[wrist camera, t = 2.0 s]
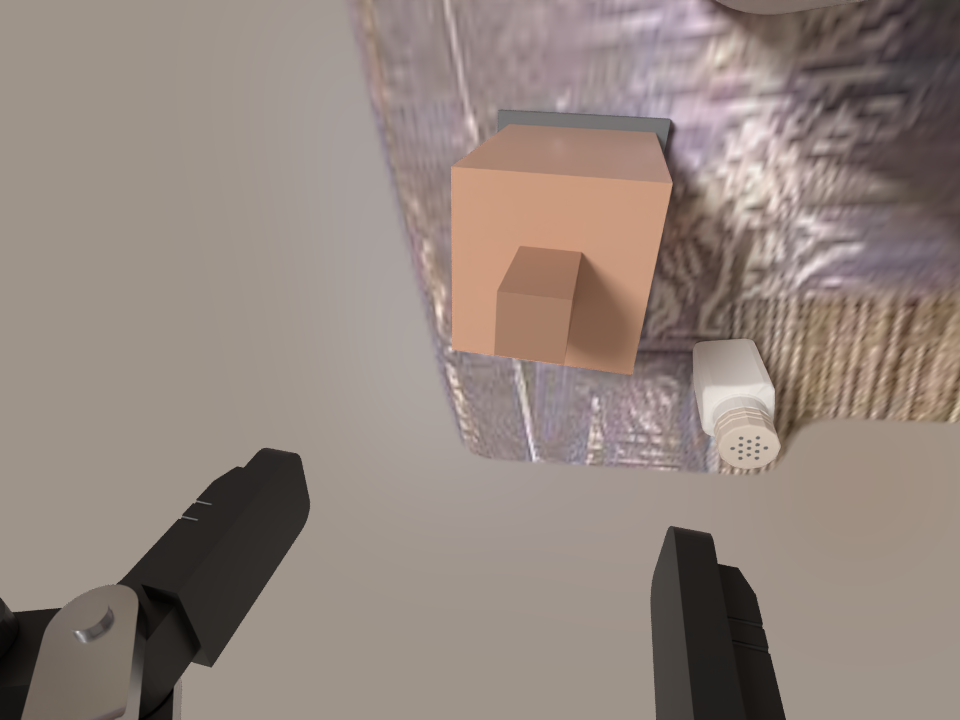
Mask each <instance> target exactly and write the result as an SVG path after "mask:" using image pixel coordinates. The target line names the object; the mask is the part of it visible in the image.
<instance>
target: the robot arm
mask: <svg viewBox="0 0 960 720" xmlns="http://www.w3.org/2000/svg"><path fill="white" fill-rule="evenodd" d="M309 509H310V499H309V494H308V490H307V485H306V480H305V475H304V470H303V466H302V461H301V458H300V456H299V455H298V454H296V453H292V452H286V451H281V450H275V449H270V448H263V449H261V450H260V451H259V452H257V453H256V455H255V456H254V457H253V458H252V459H251V460H250V461H249V462H248V464H247V465H246V466H245V467H244V468H242V467H235V468H234V469H232V470H230V471H229V472H227V473H226V474H224V475H223V476H221V477H219V478H218V479H216V480H215V481H213V482H212V483H211V485H209V487H208V488H207V489H206V490H205V491H204V492H203V493H202V494H201V495H200V496H199V498H197V501H196V503H195V504H194V503H193V504H192V505H191V506H190V507H189V508H188V509H187V510H186V511H185V512H184V513H183V515H182V518H181V519H178V520H177V521H176V522H175V523H174V524H173V525H172V526H171V528H170V529H169V530H168V531H167V532H166V533H165V534H164V535H163V536H162V537H161V538H160V539H159V540H158V542H157V543H156V544H155V545H154V546H153V547H152V548H151V549H150V550H149V551H148V552H147V553H146V554H145V555H144V557H143V558H142V559H141V560H140V561H139V562H138V563H137V564H136V565H135V566H134V567H133V568H132V570H131V571H130V572H129V573H128V574H127V575H126V576H125V577H124V578H123V579H122V580H121V581H120V582H118V583H117V584H116V585H114V584H113V585H105V586H101V587H98V588H95V589H92V590H89V591H88V592H85V593H83V594H81V595H80V596H78V597H76V598H75V599H73V600H72V601H70V602H69V603H68V604H66V605H65V606H64V607H63V608H58V609H57V608H56V609H45V610H34V611H23V612H11V611H10V609H9V608H8V607H7V605H6V604H5V603H4V601H3V600H2V599H1V598H0V720H181V698H182V696H181V695H182V682H181V678H180V677H181V675H182V674H183V673H184V671H185V670H186V668H187V667H188V665H189V664H190V663H191V662H194V663H197V664H201V665H204V666H208V667H212V666H213V665H214V663H215V662H216V660H217V658H218V657H219V655H220V654H221V652H222V651H223V649H224V648H225V646H226V645H227V643H228V642H229V640H230V639H231V637H232V636H233V634H234V633H235V631H236V630H237V628H238V626H239V625H240V623H241V622H242V620H243V619H244V617H245V616H246V614H247V613H248V611H249V610H250V608H251V607H252V605H253V604H254V602H255V600H256V599H257V597H258V596H259V595H260V593H261V591H262V590H263V588H264V587H265V585H266V584H267V582H268V581H269V579H270V578H271V576H272V575H273V573H274V572H275V570H276V568H277V567H278V565H279V564H280V563H281V561H282V559H283V558H284V556H285V555H286V553H287V552H288V550H289V549H290V547H291V546H292V544H293V543H294V541H295V540H296V538H297V536H298V535H299V534H300V532H301V530H302V529H303V527H304V525H305V523H306V521H307V518H308V514H309ZM651 622H652V642H653V643H652V644H653V663H654V683H655V704H656V720H786V718H785V714H784V710H783V705H782V701H781V697H780V693H779V689H778V685H777V681H776V677H775V672H774V668H773V664H772V660H771V656H770V654H769V653H768V643H767V639H766V635H765V631H764V629H763V628H762V625H763V623H762V618H761V614H760V610H759V606H758V602H757V597H756V594H755V593H754V591H753V590H752V588H751V587H750V585H749V584H748V582H747V581H746V579H745V578H744V576H743V575H742V573H741V572H740V570H739V568H736V567H731V566H726V565H721V564H718V563H717V558H716V552H715V546H714V541H713V538H712V536H711V534H710V533H705V532H700V531H694V530H690V529H684V528H679V527H673V526H670V527H669V528H668V530H667V533H666V536H665V540H664V543H663V546H662V549H661V552H660V555H659V559H658V562H657V565H656V568H655V571H654V575H653V580H652V587H651Z"/></svg>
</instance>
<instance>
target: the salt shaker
mask: <svg viewBox="0 0 960 720" xmlns="http://www.w3.org/2000/svg"><path fill="white" fill-rule="evenodd" d="M693 384H694V389H695V394H696V399H697V404H698V409H699V414H700V419H701V424H702V429H703V430H704V432H705V433H706V434H708V435H710V436H712V437H715V439H716V443H717V448H718V450H719V453H720V456H721V458H722V459H723V460H724V461H726V462H727V463H729V464H730V465H731V466H733V467H738V468H743V469H753V468H758V467H764V466H765V465H767V464H768V463H770V462H771V461H773V460H774V459H776V457H777V454H778V452H779V450H780V448H781V445H780V442H779V439H778V435H777V433H776V430H775V428H774V425H773V420H774V410H775V389H774V386H773V384H772V382H771V379H770V377H769V375H768V372H767V370H766V368H765V366H764V363H763V361H762V359H761V356H760V354H759V352H758V349H757V347H756V345H755V343H754V341H753V340H751V339H746V338H744V339H730V340H716V341H702V342H699V343H696V345H695V347H694V349H693Z"/></svg>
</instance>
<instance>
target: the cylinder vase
mask: <svg viewBox="0 0 960 720" xmlns="http://www.w3.org/2000/svg"><path fill="white" fill-rule="evenodd" d="M715 1H717V2H719V3H721V4H723V5H725V6H727V7H730V8H732V9H735V10H739V11H742V12H747V13H753V14H766V15H772V14H785V13H792V12H798V11H804V10H810V9H817V8H823V7H829V6H835V5H841V4H848V3H854V2H860V1H866V0H715Z"/></svg>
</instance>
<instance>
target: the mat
mask: <svg viewBox="0 0 960 720" xmlns="http://www.w3.org/2000/svg"><path fill="white" fill-rule="evenodd" d="M670 121H671V120H670V119H666V118H647V117H629V116H610V115H591V114H572V113H554V112H535V111H516V110H499V111H498V132H499V131H500V130H502V129H503V128H504V127H506V126H507V125H509V124H517V125H534V126H551V127H568V128H585V129H603V130H620V131H637V132H654V133H656V135H657V138H658V141H659V144H660V147H661V150H662V153H663V156H664V151H665V146H666V141H667V136H668V131H669V126H670Z"/></svg>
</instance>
